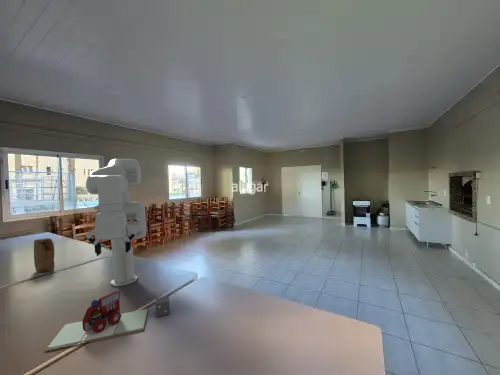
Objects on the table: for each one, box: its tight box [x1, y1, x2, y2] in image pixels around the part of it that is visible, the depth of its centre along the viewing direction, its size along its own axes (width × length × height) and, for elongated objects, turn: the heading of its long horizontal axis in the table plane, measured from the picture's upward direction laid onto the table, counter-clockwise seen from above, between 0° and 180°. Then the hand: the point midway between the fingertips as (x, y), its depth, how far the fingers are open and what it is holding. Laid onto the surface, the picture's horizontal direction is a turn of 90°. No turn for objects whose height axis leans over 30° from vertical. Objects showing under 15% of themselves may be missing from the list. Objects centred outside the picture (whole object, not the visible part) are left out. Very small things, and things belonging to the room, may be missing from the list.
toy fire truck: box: [82, 290, 122, 333], centre depth 83 cm, size 7×12×10 cm, turn 148°
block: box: [33, 237, 55, 273], centre depth 145 cm, size 11×8×20 cm
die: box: [155, 295, 171, 318], centre depth 91 cm, size 5×5×5 cm
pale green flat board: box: [47, 308, 149, 347], centre depth 83 cm, size 14×28×1 cm, turn 108°
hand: (113, 253), depth 88 cm, fingers open, 9 cm apart
